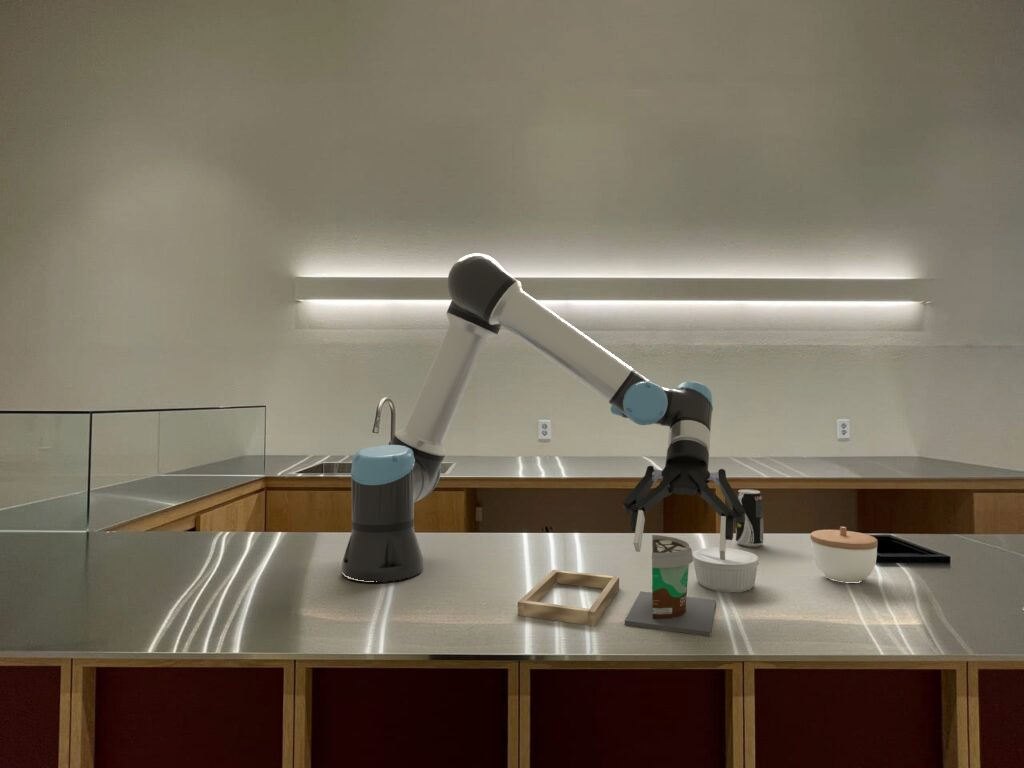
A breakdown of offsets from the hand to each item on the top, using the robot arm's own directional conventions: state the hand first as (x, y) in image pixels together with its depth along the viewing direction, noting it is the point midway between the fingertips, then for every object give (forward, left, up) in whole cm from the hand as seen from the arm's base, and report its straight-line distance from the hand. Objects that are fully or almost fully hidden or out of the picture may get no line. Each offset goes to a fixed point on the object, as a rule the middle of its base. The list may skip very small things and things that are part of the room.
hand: (678, 551), depth 100 cm
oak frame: (-16, -7, -8) cm, 19 cm away
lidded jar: (+27, +22, -8) cm, 36 cm away
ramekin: (+7, +11, -8) cm, 16 cm away
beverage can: (+11, +42, -8) cm, 45 cm away
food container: (0, -6, -8) cm, 10 cm away
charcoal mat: (0, -7, -8) cm, 10 cm away
